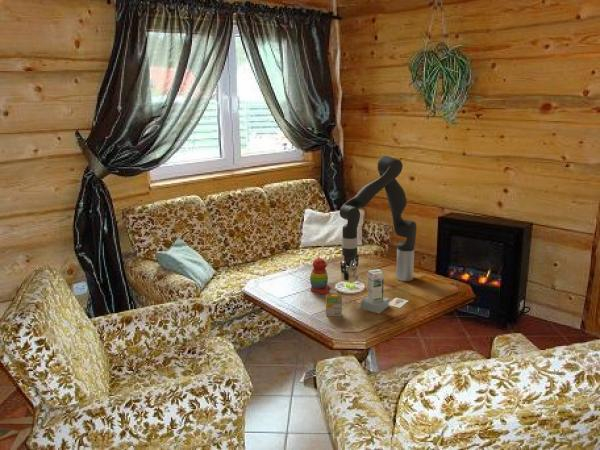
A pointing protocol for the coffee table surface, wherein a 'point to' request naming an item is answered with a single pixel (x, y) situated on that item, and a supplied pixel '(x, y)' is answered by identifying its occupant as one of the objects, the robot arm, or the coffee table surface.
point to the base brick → (374, 305)
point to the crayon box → (334, 304)
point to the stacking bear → (319, 277)
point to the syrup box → (375, 285)
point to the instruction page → (398, 302)
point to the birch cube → (351, 275)
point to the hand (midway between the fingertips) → (349, 277)
